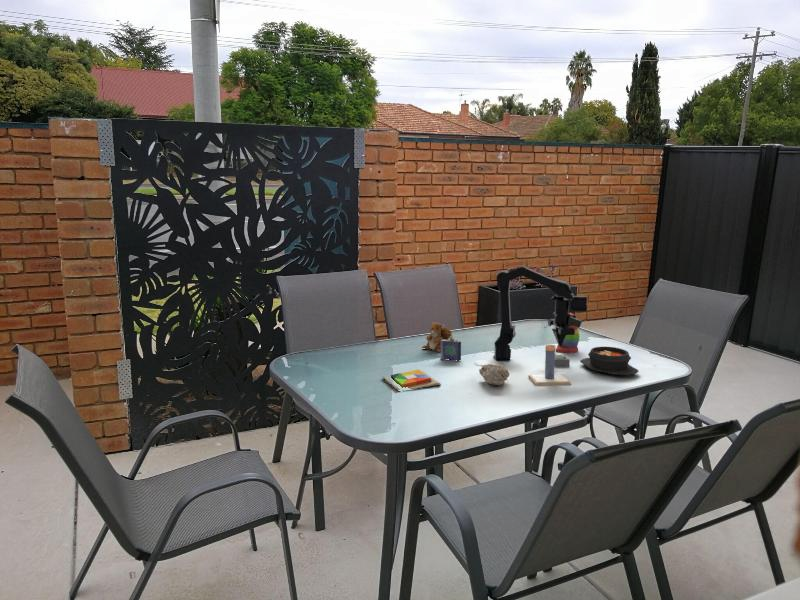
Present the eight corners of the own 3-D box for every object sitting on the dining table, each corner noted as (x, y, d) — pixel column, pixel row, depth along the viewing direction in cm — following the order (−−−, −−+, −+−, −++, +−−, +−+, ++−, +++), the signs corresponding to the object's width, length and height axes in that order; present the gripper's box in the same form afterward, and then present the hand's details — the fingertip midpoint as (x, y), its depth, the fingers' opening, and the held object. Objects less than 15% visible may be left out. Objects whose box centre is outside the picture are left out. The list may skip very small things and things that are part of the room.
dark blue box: (439, 359, 266) (440, 336, 264) (441, 358, 269) (442, 334, 267) (460, 361, 263) (460, 338, 261) (461, 360, 266) (462, 336, 264)
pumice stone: (509, 391, 226) (510, 371, 224) (477, 389, 228) (478, 369, 226) (508, 379, 239) (509, 360, 238) (478, 378, 241) (479, 359, 240)
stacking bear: (557, 346, 288) (559, 310, 285) (579, 348, 284) (581, 311, 281) (555, 352, 278) (556, 314, 275) (577, 354, 275) (579, 316, 271)
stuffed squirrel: (420, 349, 282) (420, 322, 280) (438, 343, 293) (438, 317, 290) (437, 353, 276) (437, 326, 273) (455, 347, 286) (455, 320, 284)
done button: (555, 364, 258) (556, 355, 257) (552, 361, 262) (553, 352, 261) (564, 364, 258) (565, 355, 257) (561, 361, 262) (562, 352, 261)
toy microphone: (544, 378, 237) (544, 346, 234) (545, 376, 240) (546, 344, 238) (553, 379, 235) (554, 347, 233) (554, 376, 239) (556, 345, 236)
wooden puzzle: (381, 379, 241) (381, 371, 241) (423, 374, 248) (423, 366, 247) (397, 393, 225) (397, 384, 225) (442, 387, 232) (442, 378, 232)
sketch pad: (535, 385, 233) (535, 382, 232) (528, 377, 242) (528, 374, 242) (570, 384, 233) (570, 381, 233) (562, 376, 243) (562, 373, 243)
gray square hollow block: (553, 366, 256) (553, 359, 256) (548, 361, 263) (548, 355, 263) (569, 366, 257) (569, 359, 256) (563, 361, 264) (564, 354, 263)
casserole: (648, 374, 246) (649, 354, 244) (618, 382, 236) (620, 362, 235) (599, 359, 267) (600, 341, 265) (570, 366, 257) (571, 347, 255)
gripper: (588, 315, 247) (586, 351, 250) (572, 306, 265) (571, 340, 268) (561, 315, 246) (560, 352, 249) (548, 306, 264) (546, 340, 267)
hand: (560, 346), depth 258 cm, fingers closed
